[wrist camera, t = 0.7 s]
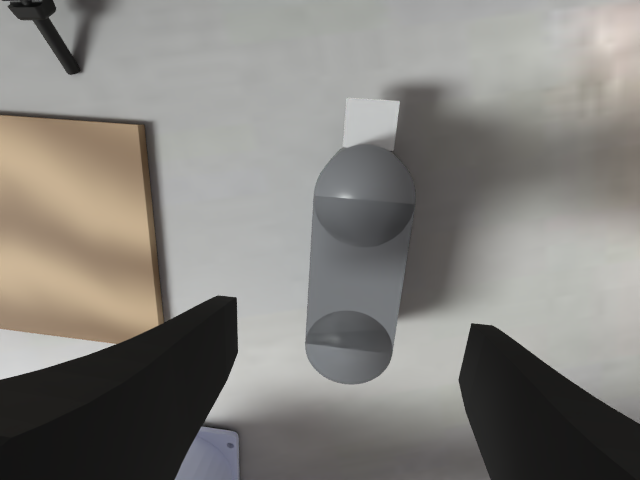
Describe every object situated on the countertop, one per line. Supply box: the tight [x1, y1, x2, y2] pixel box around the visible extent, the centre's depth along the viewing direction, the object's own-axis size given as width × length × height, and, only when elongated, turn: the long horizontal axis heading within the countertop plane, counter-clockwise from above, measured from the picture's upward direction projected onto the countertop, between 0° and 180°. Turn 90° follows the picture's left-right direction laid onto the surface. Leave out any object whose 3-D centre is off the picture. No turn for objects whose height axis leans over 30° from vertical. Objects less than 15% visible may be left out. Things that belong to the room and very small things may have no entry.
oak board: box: [0, 115, 164, 344], centre depth 22 cm, size 14×14×1 cm
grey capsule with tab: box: [305, 98, 416, 384], centre depth 17 cm, size 13×4×5 cm, turn 176°
